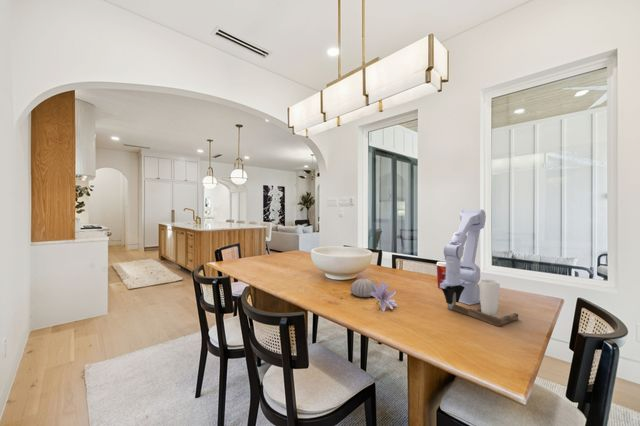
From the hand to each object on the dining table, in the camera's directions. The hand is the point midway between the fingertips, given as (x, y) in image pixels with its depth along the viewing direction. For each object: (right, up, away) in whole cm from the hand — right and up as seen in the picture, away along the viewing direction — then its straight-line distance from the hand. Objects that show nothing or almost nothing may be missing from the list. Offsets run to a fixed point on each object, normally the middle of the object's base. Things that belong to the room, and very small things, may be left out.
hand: (452, 302), depth 119 cm
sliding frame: (+9, -3, -5) cm, 11 cm away
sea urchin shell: (-36, -2, +19) cm, 41 cm away
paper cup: (+11, -3, +32) cm, 34 cm away
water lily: (-29, -3, +1) cm, 30 cm away
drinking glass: (+9, -3, -11) cm, 15 cm away
